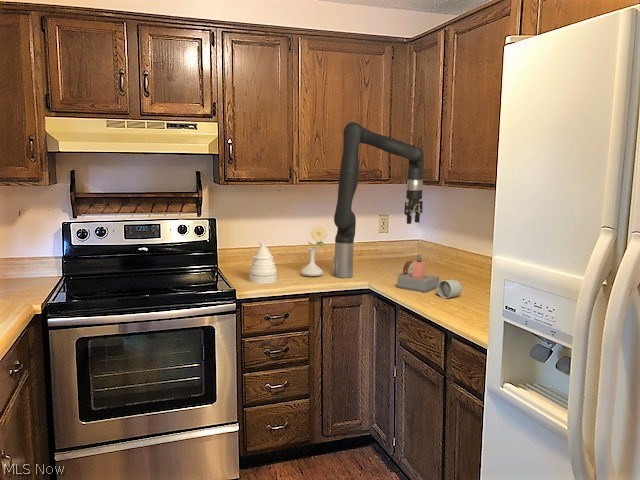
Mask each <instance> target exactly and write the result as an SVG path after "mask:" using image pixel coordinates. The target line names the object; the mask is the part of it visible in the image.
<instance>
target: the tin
mask: <svg viewBox="0 0 640 480" xmlns="http://www.w3.org/2000/svg"><path fill="white" fill-rule="evenodd" d="M414 261H417V258H413V259H409V260H407V261H406V262H405V263H404V265H403V267H402V268H403V269H402V273H403V274H402V275H406V274H409V273H412V264H413V262H414Z"/></svg>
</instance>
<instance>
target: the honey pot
mask: <svg viewBox="0 0 640 480" xmlns="http://www.w3.org/2000/svg"><path fill="white" fill-rule="evenodd" d="M259 245H260V247H259V248H258V249H257V251H256V252H255V254H253V255H252V256H251V258H252V259H253V260H252V262H251V265H250V269H249V282H250V283H252V284H259V285H260V284H265V285H266V284H273V283H276V282H277V281H278V279H277V278H278V276H277V275H278V273H277V272H278V270H277V268H276V265H275V264H276V263H275V262H274V256H273V255H272V254H271V252H270V250H269V248H268V247H267V246H266V242H265V241H262V242H261V241H260V242H259Z"/></svg>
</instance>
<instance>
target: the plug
mask: <svg viewBox="0 0 640 480" xmlns="http://www.w3.org/2000/svg"><path fill="white" fill-rule="evenodd" d="M416 259H417V261H414V262H413V264H412V277H413V278H419V279H423V278H425V275H426V270H427V268H426V267H427V261H422V255H421V254H418V255H417V257H416Z"/></svg>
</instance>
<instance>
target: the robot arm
mask: <svg viewBox="0 0 640 480" xmlns="http://www.w3.org/2000/svg"><path fill="white" fill-rule="evenodd" d="M342 136H343V145H342V146H343V148H342V157H341V161H340V162H341V163H340V166H339V167H340V169H339V176H338V177H339V178H338V189H337V200H336V201H337V202H336V207H335V211H334V212H335V213H334V216H333V222H334V225H335V226H336V227H337V228H336V229H337V230H336V231H337V232H336V234H335V236H334V256H333V257H332V276H333V277H334V278H335V277H336V278H339V279H340V278H341V279H347V278H353V277H354V275H353V273H354V249H355V248H354V246H355V245H354V242H355V241H354V240H355V236H356V224H357V223H356V222H357V219H356V215H355V212H354V211H352V205H353V204H352V203H353V200H354V195H355V193H356V191H357V187H358V182H359V175H360V164H359V163H360V161H359V149H360V146H361V145H360V144H365V145H368V146H371V147H374V148H376V149H379V150H381V151H384V152H385V153H389V154H391V155H394V156H398V157H402V158H404V159H406V160H408V170H407V181H406V195H405V196H406V197H405V198H406V200H408V201H405V202H404V209H403V210H404V211H403V212H404V213H403V214H404V215H405V216H406V224H407V225H410V224H412V217H413V216H412V215H413V213H414V214H415V215H414V223H420V221H421V220H420V218H421V214H423V206H424V205H423V202H424V201H423V200H422V199H423V189H424V188H423V187H424V183H423V177H424V176H423V175H424V174H423V173H424V171H423V167H424V166H423V165H424V156H425V155H424V154H425V153H424V150H423V149H422V148H421V147H420V146H417V145H414V144H409V143H407V142H404V141H401V140H399V139H397V138H395V137H394V138H393V137H390V136H386V135H382V134H378V133H376V132H374V131H371V130H369V129H367V128H365V127H363V126H362V125H361V124H360V123H357V122H352V121H351V122H348V123H347V124H346V125H345V126H344V128H343V135H342Z"/></svg>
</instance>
